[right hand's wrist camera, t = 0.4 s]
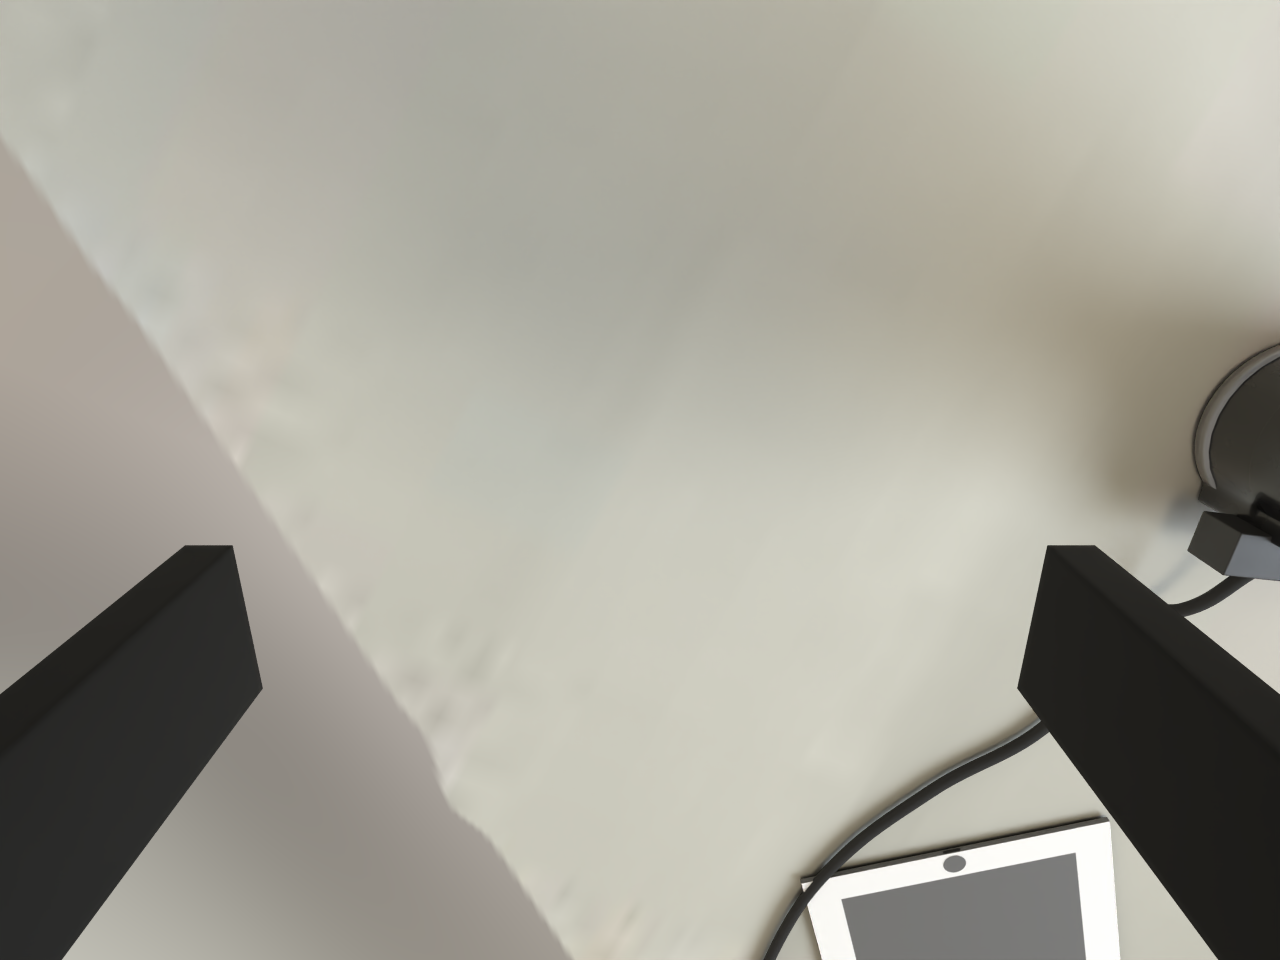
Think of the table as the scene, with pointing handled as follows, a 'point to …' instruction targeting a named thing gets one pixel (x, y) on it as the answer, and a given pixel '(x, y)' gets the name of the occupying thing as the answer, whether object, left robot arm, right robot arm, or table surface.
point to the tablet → (978, 902)
